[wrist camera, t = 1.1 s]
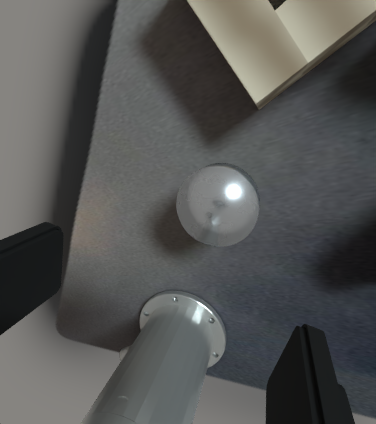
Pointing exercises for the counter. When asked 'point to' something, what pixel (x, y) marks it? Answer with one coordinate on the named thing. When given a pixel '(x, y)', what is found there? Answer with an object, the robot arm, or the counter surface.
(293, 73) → the block
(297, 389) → the robot arm
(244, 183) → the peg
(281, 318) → the counter surface
